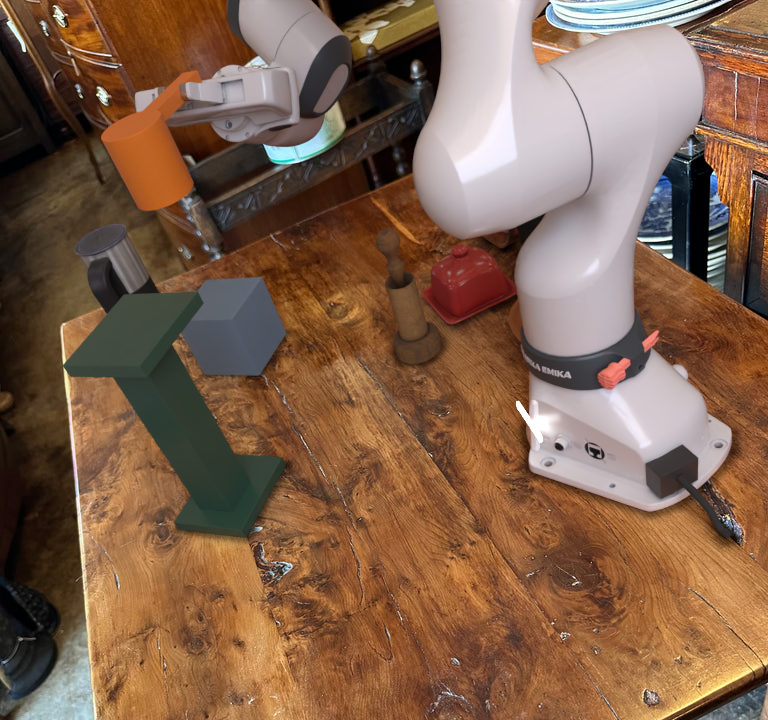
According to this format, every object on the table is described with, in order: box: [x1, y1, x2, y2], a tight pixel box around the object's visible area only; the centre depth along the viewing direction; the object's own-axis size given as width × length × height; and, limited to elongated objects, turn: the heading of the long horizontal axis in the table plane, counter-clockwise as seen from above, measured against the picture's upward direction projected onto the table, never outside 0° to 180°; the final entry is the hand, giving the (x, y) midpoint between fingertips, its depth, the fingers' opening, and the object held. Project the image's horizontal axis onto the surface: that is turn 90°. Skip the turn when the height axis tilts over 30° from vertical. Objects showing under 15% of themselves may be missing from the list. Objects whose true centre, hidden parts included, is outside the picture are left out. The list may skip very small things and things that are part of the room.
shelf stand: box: [62, 291, 287, 539], centre depth 90 cm, size 12×10×26 cm
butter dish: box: [421, 243, 517, 325], centre depth 111 cm, size 12×12×8 cm
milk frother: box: [73, 223, 161, 315], centre depth 130 cm, size 14×16×15 cm
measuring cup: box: [100, 70, 203, 212], centre depth 90 cm, size 17×7×8 cm, turn 160°
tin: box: [481, 227, 520, 249], centre depth 120 cm, size 15×3×8 cm, turn 25°
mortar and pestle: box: [375, 228, 443, 365], centre depth 102 cm, size 7×6×18 cm
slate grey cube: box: [180, 276, 287, 377], centre depth 117 cm, size 10×10×10 cm
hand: (172, 93), depth 90 cm, fingers closed on measuring cup, 2 cm apart
